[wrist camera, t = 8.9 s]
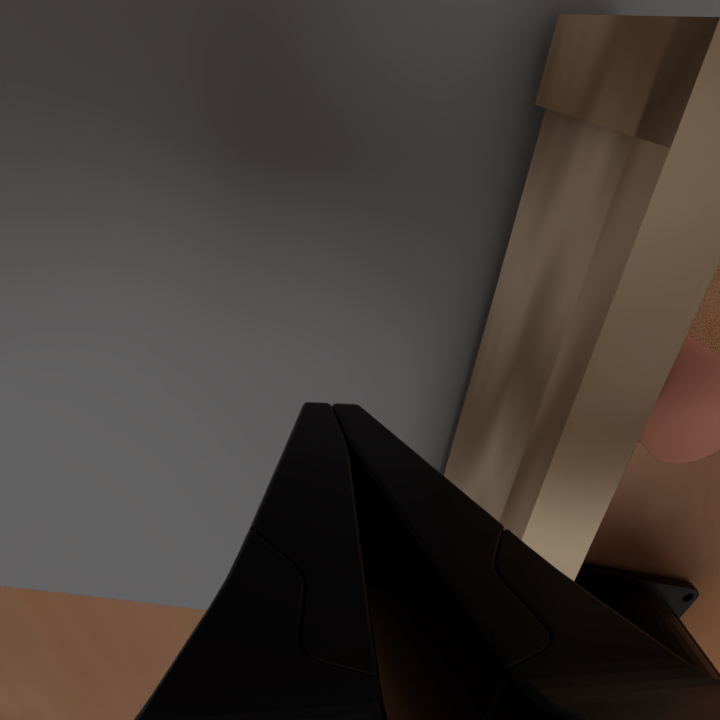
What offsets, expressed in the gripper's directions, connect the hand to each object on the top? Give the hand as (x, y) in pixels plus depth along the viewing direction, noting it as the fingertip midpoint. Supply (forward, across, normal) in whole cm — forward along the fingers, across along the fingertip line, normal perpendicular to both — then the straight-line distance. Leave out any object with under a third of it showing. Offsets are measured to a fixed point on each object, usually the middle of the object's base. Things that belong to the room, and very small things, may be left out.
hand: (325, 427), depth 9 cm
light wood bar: (+6, -6, +2) cm, 9 cm away
